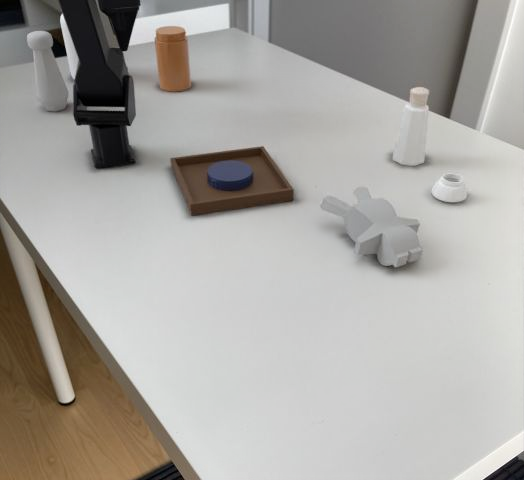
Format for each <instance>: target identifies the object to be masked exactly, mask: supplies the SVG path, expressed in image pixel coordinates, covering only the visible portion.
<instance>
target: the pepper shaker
mask: <svg viewBox="0 0 524 480" xmlns="http://www.w3.org/2000/svg"><path fill="white" fill-rule="evenodd" d="M409 93H410V95H409V103H406V104H405V107H404V110H403V113H402V118H401V122H400V126H399V130H398V132H397V133H398V134H397V138H396V141H395V145H394V149H393V153H392V161H394V162H396V163H397V164H399V165H401V166H407V167H408V166H410V167H416V166H418V165H422V164H424V163H425V156H426V148H427V147H426V146H427V133H428V124H429V123H428V121H429V108H430V107H429V105H427V104H428V103H427V102H428V99H429V95H430V89H428V88H425V87H423V86H422V87H421V86H416V87H413V88H411V89H410V92H409Z"/></svg>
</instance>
